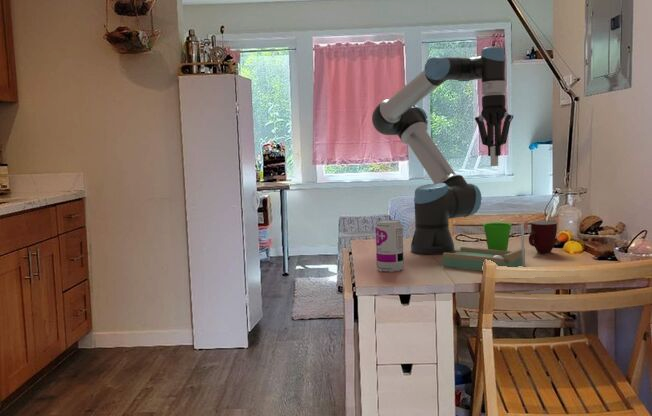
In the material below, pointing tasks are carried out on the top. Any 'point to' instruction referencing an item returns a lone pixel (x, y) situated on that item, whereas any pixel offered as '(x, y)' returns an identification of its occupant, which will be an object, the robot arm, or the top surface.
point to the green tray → (482, 258)
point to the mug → (543, 236)
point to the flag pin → (523, 226)
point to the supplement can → (389, 245)
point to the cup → (497, 235)
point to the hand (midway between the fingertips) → (494, 165)
